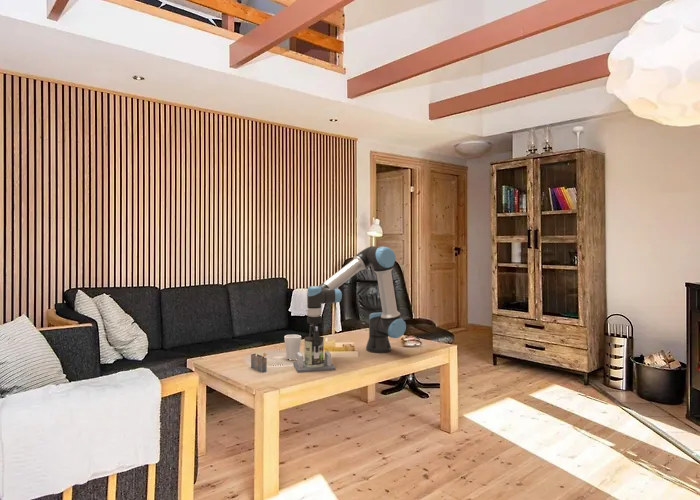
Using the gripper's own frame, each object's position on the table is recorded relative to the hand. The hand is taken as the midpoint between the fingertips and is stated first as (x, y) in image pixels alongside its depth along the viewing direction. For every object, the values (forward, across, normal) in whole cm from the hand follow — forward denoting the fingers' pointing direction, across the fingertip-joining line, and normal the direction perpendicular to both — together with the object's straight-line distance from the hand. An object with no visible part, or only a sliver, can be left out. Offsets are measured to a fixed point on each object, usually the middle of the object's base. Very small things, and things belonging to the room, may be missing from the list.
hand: (314, 355), depth 256 cm
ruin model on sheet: (+7, -1, -29) cm, 30 cm away
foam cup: (+7, -18, -9) cm, 22 cm away
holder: (+6, 0, 0) cm, 6 cm away
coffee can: (+5, 0, 0) cm, 5 cm away
